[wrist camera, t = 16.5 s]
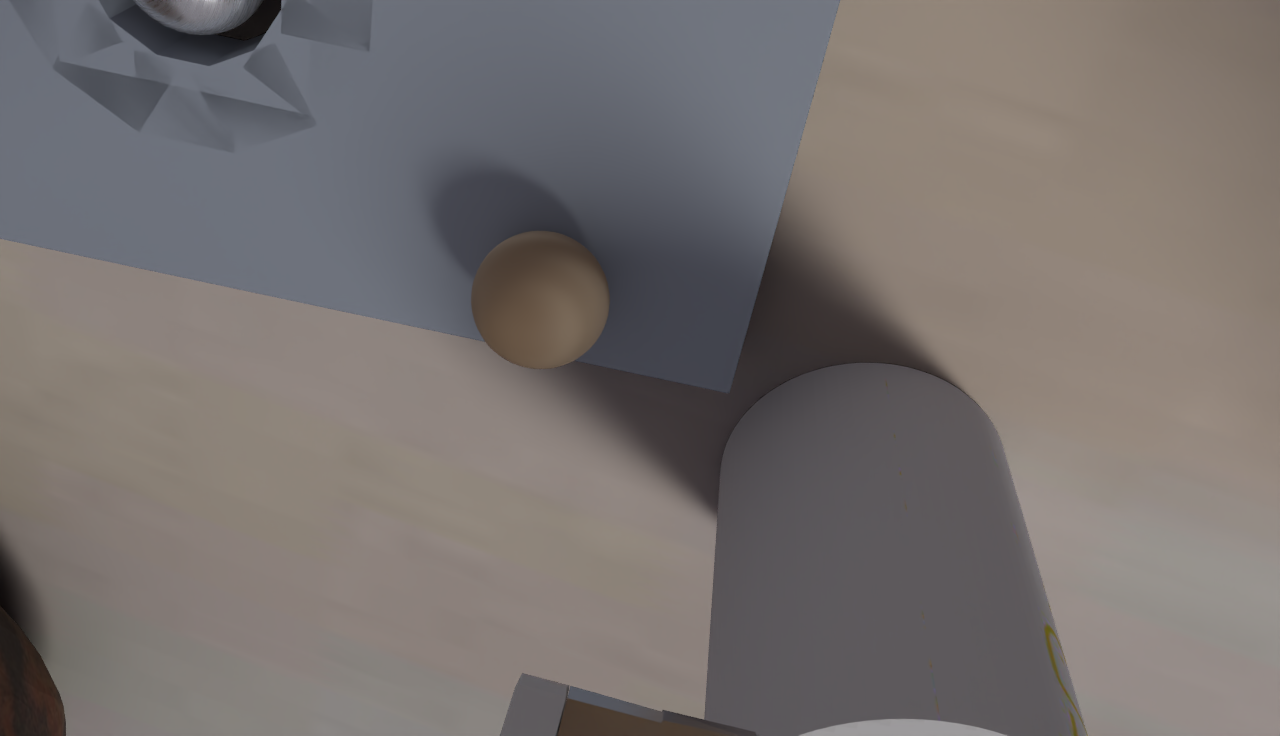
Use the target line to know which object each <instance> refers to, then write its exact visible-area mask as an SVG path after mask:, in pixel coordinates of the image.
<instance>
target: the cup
mask: <svg viewBox="0 0 1280 736" xmlns="http://www.w3.org/2000/svg"><path fill="white" fill-rule="evenodd" d="M704 720H707V721H712V722H716V723H720V724H724V725H728V726H733V727H737V728H741V729H745V730H749V731H753V732H756V735H758V734H760V735H764V736H1088V735H1087V732H1086V728H1085V725H1084V721H1083V718H1082V715H1081V711H1080V708H1079V704H1078V701H1077V698H1076V694H1075V691H1074V687H1073V684H1072V681H1071V677H1070V674H1069V670H1068V667H1067V664H1066V660H1065V657H1064V653H1063V650H1062V646H1061V643H1060V640H1059V636H1058V633H1057V629H1056V626H1055V623H1054V619H1053V616H1052V612H1051V609H1050V606H1049V602H1048V599H1047V595H1046V592H1045V588H1044V585H1043V582H1042V578H1041V575H1040V571H1039V568H1038V565H1037V561H1036V558H1035V554H1034V551H1033V548H1032V544H1031V541H1030V537H1029V534H1028V531H1027V527H1026V524H1025V520H1024V517H1023V513H1022V510H1021V507H1020V503H1019V500H1018V496H1017V493H1016V490H1015V486H1014V483H1013V479H1012V476H1011V473H1010V469H1009V466H1008V462H1007V459H1006V455H1005V452H1004V449H1003V445H1002V442H1001V440H1000V437H999V435H998V432H997V431H996V429H995V427H994V425H993V423H992V422H991V420H990V419H989V417H988V416H987V415H986V414H985V412H984V411H983V410H982V409H981V408H980V407H979V406H978V405H977V404H976V402H974V401H973V400H972V399H971V398H970V397H969V396H968V395H966V394H965V393H964V392H962V391H961V390H959V389H958V388H956V387H955V386H953V385H951V384H950V383H948V382H946V381H944V380H942V379H940V378H938V377H936V376H933V375H931V374H928V373H925V372H923V371H920V370H916V369H912V368H909V367H904V366H899V365H893V364H885V363H850V364H842V365H835V366H830V367H825V368H822V369H818V370H814V371H811V372H808V373H805V374H803V375H800V376H798V377H795V378H793V379H791V380H789V381H787V382H785V383H783V384H781V385H780V386H778V387H776V388H775V389H773V390H772V391H770V392H769V393H767V394H766V395H765V396H763V397H762V398H761V399H760V400H758V401H757V402H756V403H755V404H754V405H753V406H752V407H751V408H750V409H749V410H748V411H747V412H746V413H745V415H744V416H743V417H742V418H741V419H740V421H739V422H738V424H737V425H736V427H735V428H734V430H733V432H732V433H731V435H730V437H729V439H728V442H727V444H726V447H725V450H724V453H723V457H722V462H721V469H720V484H719V500H718V515H717V531H716V546H715V562H714V577H713V593H712V608H711V624H710V639H709V655H708V670H707V686H706V701H705V717H704Z"/></svg>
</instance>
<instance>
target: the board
mask: <svg viewBox="0 0 1280 736" xmlns="http://www.w3.org/2000/svg"><path fill="white" fill-rule="evenodd" d="M839 3H840V0H281V11H280V12H279V14H278V15H277V17H276V18H275V20H274V21H273V23H272V24H271V26H270V27H269V29H268V31H267V32H266V33H265V34H262V35H260V36H257V37H254V38H251V39H249V40H246V41H243V40H238V39H234V38H229V37H224V36H220V35H215V34H211V35H194V34H188V33H183V32H179V31H176V30H174V29H171V28H169V27H166V26H164V25H162V24H161V23H159V22H157V21H156V20H154V19H152V18H151V17H150V16H149V15H148V14H146V13H145V12H144V11H143V10H142V9H141V8H140V7H139V6H138V5H137V4H136V3H135V2H134V1H133V0H0V239H4V240H9V241H14V242H18V243H23V244H28V245H32V246H37V247H42V248H47V249H51V250H56V251H61V252H65V253H70V254H75V255H79V256H84V257H89V258H94V259H98V260H103V261H108V262H112V263H117V264H122V265H127V266H131V267H136V268H141V269H145V270H150V271H155V272H159V273H164V274H169V275H174V276H178V277H183V278H188V279H192V280H197V281H202V282H207V283H211V284H216V285H221V286H225V287H230V288H235V289H239V290H244V291H249V292H254V293H258V294H263V295H268V296H272V297H277V298H282V299H287V300H291V301H296V302H301V303H305V304H310V305H315V306H319V307H324V308H329V309H334V310H338V311H343V312H348V313H352V314H357V315H362V316H367V317H371V318H376V319H381V320H385V321H390V322H395V323H399V324H404V325H409V326H414V327H418V328H423V329H428V330H432V331H437V332H442V333H447V334H451V335H456V336H461V337H465V338H470V339H475V340H479V341H484V342H485V340H484V339H483V338H482V336H481V334H480V332H479V331H478V329H477V326H476V324H475V321H474V317H473V313H472V307H471V292H472V286H473V281H474V278H475V275H476V273H477V270H478V268H479V267H480V265H481V263H482V261H483V260H484V259H485V257H486V256H487V255H488V254H489V253H490V252H491V251H492V250H493V249H494V248H495V247H496V246H497V245H498V244H500V243H501V242H503V241H504V240H506V239H508V238H510V237H512V236H515V235H517V234H520V233H524V232H529V231H550V232H556V233H560V234H563V235H565V236H568V237H570V238H572V239H574V240H576V241H577V242H579V243H580V244H582V245H583V246H584V247H585V248H587V249H588V250H589V251H590V252H591V253H592V254H593V256H594V257H595V258H596V259H597V261H598V262H599V264H600V266H601V268H602V270H603V272H604V274H605V276H606V279H607V282H608V288H609V294H610V305H609V314H608V318H607V321H606V324H605V327H604V329H603V331H602V333H601V335H600V336H599V338H598V339H597V341H596V342H595V344H594V345H593V346H592V347H591V348H590V349H589V350H588V351H587V352H586V353H584V354H583V355H582V356H581V357H579V358H578V359H576V360H574V361H578V362H583V363H588V364H592V365H597V366H602V367H607V368H611V369H616V370H621V371H625V372H630V373H635V374H639V375H644V376H649V377H654V378H658V379H663V380H668V381H672V382H677V383H682V384H687V385H691V386H696V387H701V388H705V389H710V390H715V391H719V392H724V393H730V389H731V386H732V382H733V379H734V375H735V371H736V368H737V364H738V361H739V357H740V354H741V350H742V347H743V343H744V340H745V336H746V332H747V329H748V325H749V322H750V318H751V315H752V311H753V308H754V304H755V301H756V297H757V293H758V290H759V286H760V283H761V279H762V276H763V272H764V269H765V265H766V262H767V258H768V254H769V251H770V247H771V244H772V240H773V237H774V233H775V230H776V226H777V222H778V219H779V215H780V212H781V208H782V205H783V201H784V198H785V194H786V191H787V187H788V183H789V180H790V176H791V173H792V169H793V166H794V162H795V159H796V155H797V152H798V148H799V144H800V141H801V137H802V134H803V130H804V127H805V123H806V120H807V116H808V113H809V109H810V105H811V102H812V98H813V95H814V91H815V88H816V84H817V81H818V77H819V73H820V70H821V66H822V63H823V59H824V56H825V52H826V49H827V45H828V42H829V38H830V34H831V31H832V27H833V24H834V20H835V17H836V13H837V10H838V6H839Z"/></svg>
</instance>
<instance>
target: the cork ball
mask: <svg viewBox="0 0 1280 736" xmlns="http://www.w3.org/2000/svg"><path fill="white" fill-rule="evenodd" d="M609 305H610V294H609V288H608V282H607V279H606V276H605V274H604V272H603V270H602V268H601V266H600V264H599V262H598V261H597V259H596V258H595V257H594V256H593V254H592V253H591V252H590V251H589V250H588V249H587V248H585V247H584V246H583V245H582V244H580V243H579V242H577V241H576V240H574V239H572V238H570V237H568V236H565V235H563V234H560V233H556V232H550V231H529V232H524V233H520V234H517V235H515V236H512V237H510V238H508V239H506V240H504V241H503V242H501V243H500V244H498V245H497V246H496V247H495V248H494V249H493V250H492V251H491V252H490V253H489V254H488V255H487V256H486V257H485V259H484V260H483V261H482V263H481V265H480V267H479V268H478V270H477V273H476V275H475V278H474V281H473V286H472V292H471V307H472V313H473V317H474V321H475V324H476V326H477V329H478V331H479V332H480V334H481V336H482V338H483V339H484V340H485V342H486V343H487V344H488V346H489V347H490V348H491V349H492V350H493V351H495V352H496V353H497V354H498V355H500V356H501V357H503V358H504V359H506V360H508V361H509V362H511V363H514V364H516V365H519V366H522V367H526V368H533V369H550V368H556V367H559V366H562V365H565V364H568V363H570V362H572V361H574V360H576V359H578V358H579V357H581V356H582V355H583V354H584V353H586V352H587V351H588V350H589V349H590V348H591V347H592V346H593V345H594V344H595V342H596V341H597V339H598V338H599V336H600V335H601V333H602V331H603V329H604V327H605V324H606V321H607V318H608V314H609Z"/></svg>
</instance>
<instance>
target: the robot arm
mask: <svg viewBox="0 0 1280 736" xmlns="http://www.w3.org/2000/svg"><path fill="white" fill-rule="evenodd" d="M568 691H569V694H568ZM567 696H568V697H567ZM566 700H567V701H566ZM500 736H764V735H760V734H758V735H756V732H753V731H749V730H745V729H741V728H737V727H733V726H728V725H724V724H720V723H716V722H712V721H707V720H703V719H699V718H695V717H691V716H687V715H682V714H678V713H674V712H670V711H666V710H662V712H661V711H657V710H654V709H650V708H647V707H643V706H640V705H636V704H633V703H629V702H626V701H622V700H619V699H615V698H612V697H608V696H605V695H601V694H597V693H594V692H590V691H587V690H583V689H580V688H576V687H573V686H570V690H569V685H566V684H562V683H558V682H554V681H551V680H547V679H543V678H539V677H535V676H531V675H528V674H524V673H522V675H521V677H520V679H519V681H518V683H517V685H516V687H515V690H514V693H513V696H512V699H511V702H510V705H509V709H508V712H507V715H506V718H505V721H504V724H503V727H502V730H501V734H500Z"/></svg>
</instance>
